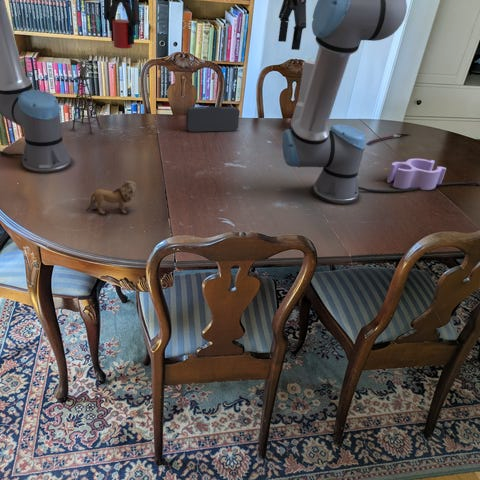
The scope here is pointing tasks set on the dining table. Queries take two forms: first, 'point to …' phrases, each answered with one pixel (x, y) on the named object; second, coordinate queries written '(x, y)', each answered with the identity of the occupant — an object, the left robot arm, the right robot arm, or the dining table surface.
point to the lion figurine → (114, 196)
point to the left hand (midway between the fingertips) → (122, 42)
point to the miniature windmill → (82, 78)
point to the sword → (386, 138)
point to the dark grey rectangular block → (212, 119)
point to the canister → (120, 33)
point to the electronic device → (303, 88)
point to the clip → (415, 174)
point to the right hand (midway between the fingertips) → (288, 45)
